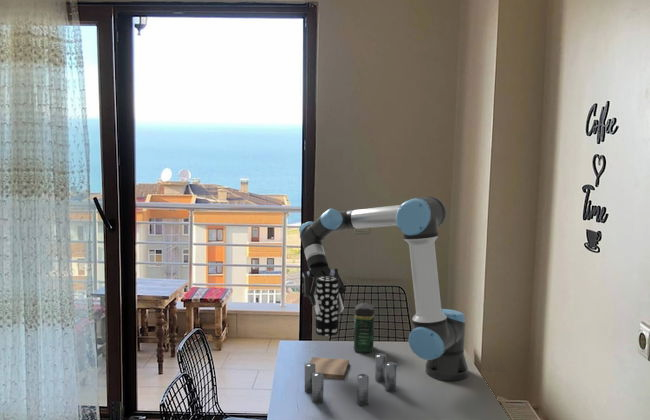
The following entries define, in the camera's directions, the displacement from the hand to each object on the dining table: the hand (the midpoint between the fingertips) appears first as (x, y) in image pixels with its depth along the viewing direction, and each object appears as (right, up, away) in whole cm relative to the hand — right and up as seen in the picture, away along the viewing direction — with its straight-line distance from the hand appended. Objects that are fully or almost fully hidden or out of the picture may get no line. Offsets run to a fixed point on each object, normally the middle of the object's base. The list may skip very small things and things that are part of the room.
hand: (330, 311), depth 192 cm
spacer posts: (+7, -24, -12) cm, 28 cm away
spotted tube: (-1, -8, +4) cm, 9 cm away
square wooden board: (-1, -22, +6) cm, 23 cm away
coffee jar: (+14, -20, +26) cm, 36 cm away
